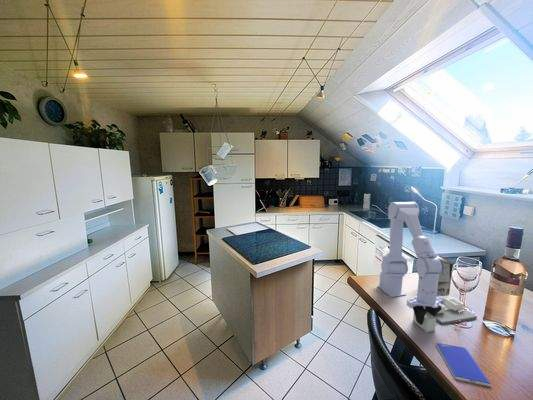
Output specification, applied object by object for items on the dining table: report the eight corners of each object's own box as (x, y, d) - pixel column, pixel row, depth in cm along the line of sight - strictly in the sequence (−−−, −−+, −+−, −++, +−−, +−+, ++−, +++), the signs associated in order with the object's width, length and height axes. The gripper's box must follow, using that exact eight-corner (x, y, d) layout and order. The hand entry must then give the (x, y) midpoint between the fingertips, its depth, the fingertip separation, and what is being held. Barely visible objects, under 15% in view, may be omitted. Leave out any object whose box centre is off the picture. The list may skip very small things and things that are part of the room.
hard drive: (436, 342, 74) (455, 375, 63) (466, 347, 72) (491, 383, 60) (435, 346, 75) (454, 380, 63) (465, 351, 72) (490, 388, 60)
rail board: (411, 302, 97) (412, 293, 97) (442, 298, 100) (443, 289, 99) (441, 324, 84) (443, 314, 83) (476, 318, 86) (478, 308, 86)
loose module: (413, 320, 86) (414, 308, 85) (420, 319, 87) (421, 307, 86) (426, 332, 80) (427, 319, 79) (434, 330, 81) (436, 318, 80)
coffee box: (449, 297, 100) (453, 263, 98) (433, 296, 101) (437, 263, 99) (437, 286, 109) (441, 255, 107) (423, 285, 110) (426, 255, 108)
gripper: (419, 297, 76) (416, 332, 78) (454, 292, 78) (450, 326, 81) (403, 286, 83) (400, 319, 85) (436, 281, 85) (433, 314, 87)
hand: (423, 322), depth 83 cm, fingers closed on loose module, 3 cm apart
